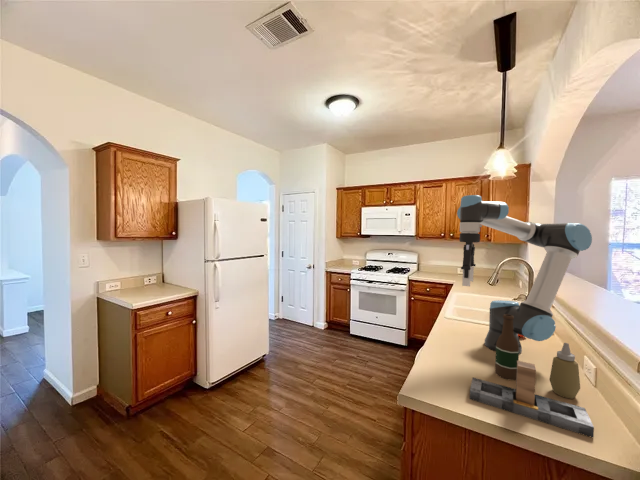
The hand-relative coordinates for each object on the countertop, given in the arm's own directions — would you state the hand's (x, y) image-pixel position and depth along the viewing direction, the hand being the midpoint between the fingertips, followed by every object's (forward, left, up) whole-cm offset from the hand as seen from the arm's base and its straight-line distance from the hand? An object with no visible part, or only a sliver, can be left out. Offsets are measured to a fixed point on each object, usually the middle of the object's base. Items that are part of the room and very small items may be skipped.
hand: (467, 283), depth 114 cm
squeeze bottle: (-24, +20, -35) cm, 47 cm away
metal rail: (-4, +28, -35) cm, 45 cm away
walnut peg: (-4, +28, -35) cm, 45 cm away
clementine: (-48, -33, -35) cm, 68 cm away
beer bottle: (-12, +8, -35) cm, 38 cm away
